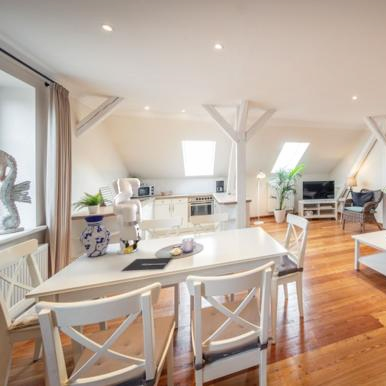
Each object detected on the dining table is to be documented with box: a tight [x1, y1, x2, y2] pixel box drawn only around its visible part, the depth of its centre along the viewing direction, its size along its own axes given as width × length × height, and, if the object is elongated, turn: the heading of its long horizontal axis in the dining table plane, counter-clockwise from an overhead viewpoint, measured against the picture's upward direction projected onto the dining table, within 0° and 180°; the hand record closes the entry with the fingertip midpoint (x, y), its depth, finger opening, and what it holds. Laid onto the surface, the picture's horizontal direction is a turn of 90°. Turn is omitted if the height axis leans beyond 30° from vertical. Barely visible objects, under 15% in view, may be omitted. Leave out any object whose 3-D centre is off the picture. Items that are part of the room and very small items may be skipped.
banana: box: [124, 243, 139, 255], centre depth 154 cm, size 15×4×4 cm, turn 7°
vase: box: [79, 215, 112, 258], centre depth 174 cm, size 19×19×30 cm
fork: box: [141, 263, 166, 266], centre depth 156 cm, size 16×2×1 cm, turn 97°
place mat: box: [121, 257, 173, 272], centre depth 157 cm, size 20×26×1 cm
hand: (131, 249), depth 154 cm, fingers closed on banana, 4 cm apart
